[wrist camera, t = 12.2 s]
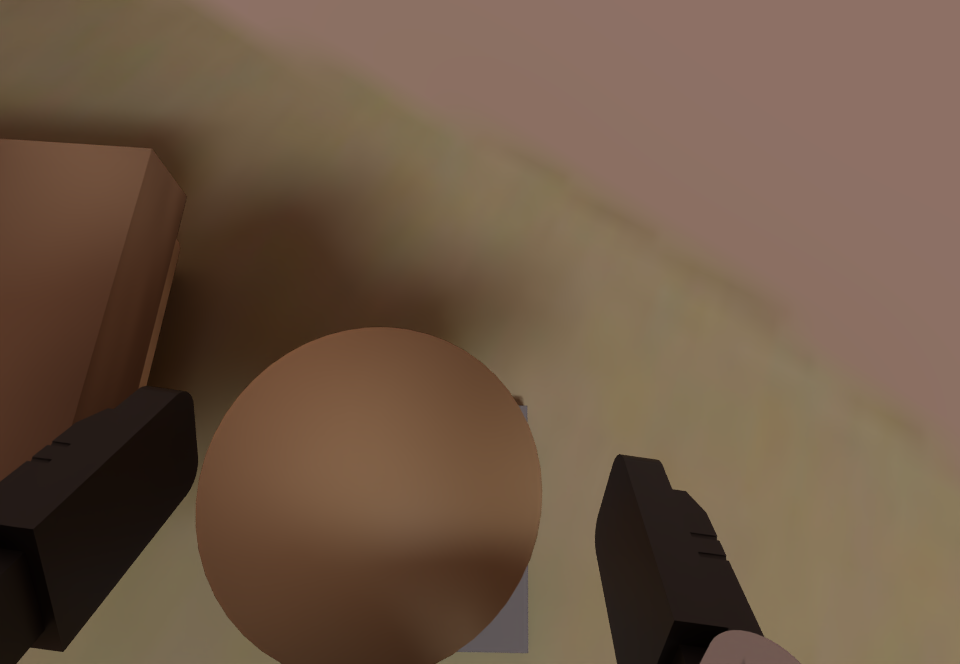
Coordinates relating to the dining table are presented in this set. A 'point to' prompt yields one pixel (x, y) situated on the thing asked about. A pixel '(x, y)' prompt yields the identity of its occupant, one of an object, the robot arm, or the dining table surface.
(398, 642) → the roller
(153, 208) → the slab
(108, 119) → the dining table surface
